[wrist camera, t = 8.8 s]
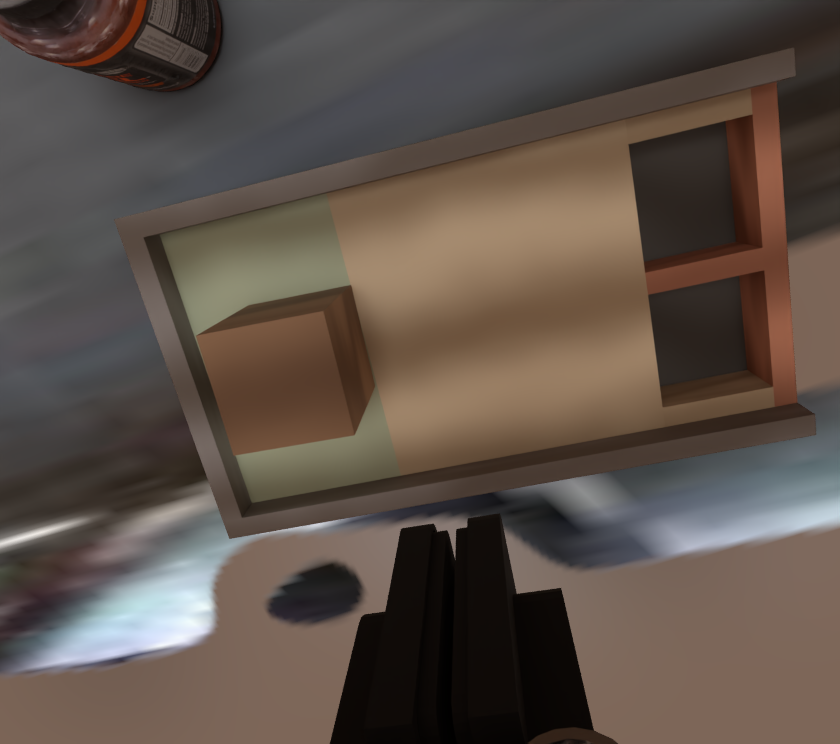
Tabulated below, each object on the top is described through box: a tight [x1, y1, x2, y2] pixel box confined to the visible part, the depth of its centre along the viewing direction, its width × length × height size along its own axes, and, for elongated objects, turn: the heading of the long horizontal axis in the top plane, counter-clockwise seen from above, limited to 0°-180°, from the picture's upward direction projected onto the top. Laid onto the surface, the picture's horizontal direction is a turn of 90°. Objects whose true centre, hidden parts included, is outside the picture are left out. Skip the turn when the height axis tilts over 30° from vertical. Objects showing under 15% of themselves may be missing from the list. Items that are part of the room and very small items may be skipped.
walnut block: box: [196, 285, 375, 456], centre depth 26 cm, size 5×5×6 cm
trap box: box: [114, 47, 816, 539], centre depth 29 cm, size 16×28×4 cm, turn 103°
